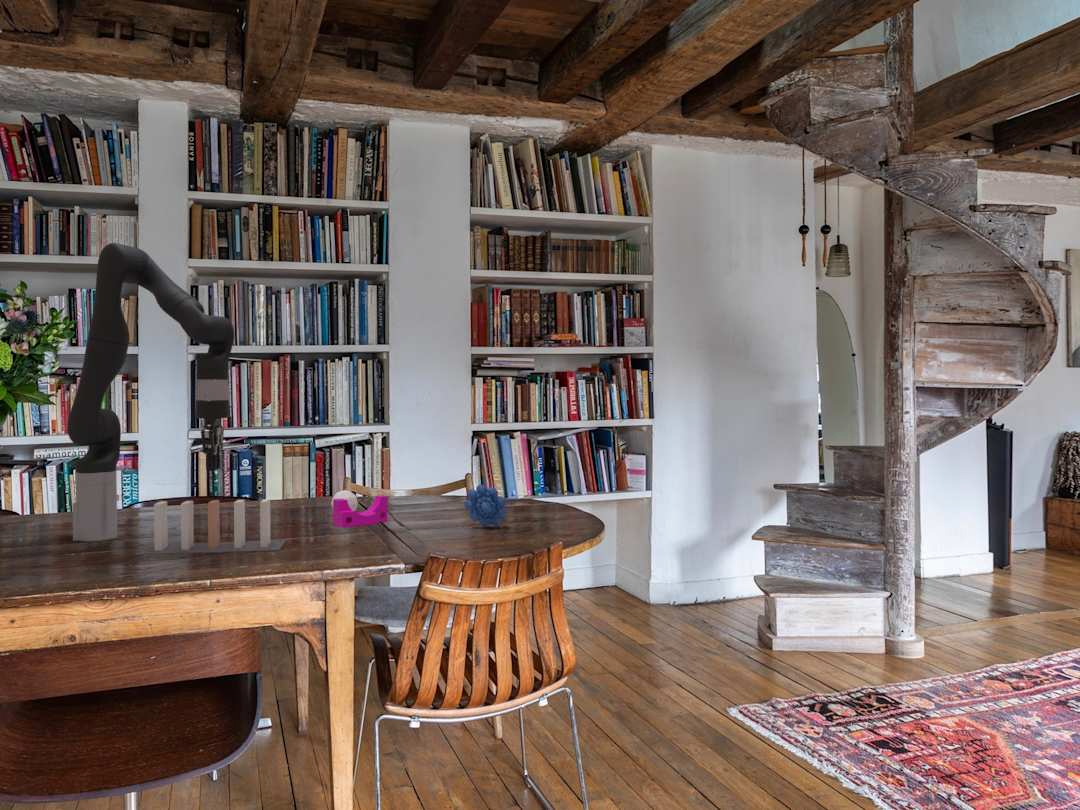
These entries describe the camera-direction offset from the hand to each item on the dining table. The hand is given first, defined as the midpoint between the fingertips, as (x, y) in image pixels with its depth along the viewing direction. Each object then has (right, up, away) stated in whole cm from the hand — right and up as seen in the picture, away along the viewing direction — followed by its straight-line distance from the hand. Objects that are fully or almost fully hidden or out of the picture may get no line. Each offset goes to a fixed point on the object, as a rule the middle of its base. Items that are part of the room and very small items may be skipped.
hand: (213, 469), depth 198 cm
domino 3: (0, -19, +1) cm, 19 cm away
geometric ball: (+20, -18, +50) cm, 56 cm away
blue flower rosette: (+64, -19, +30) cm, 73 cm away
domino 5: (+12, -19, +3) cm, 22 cm away
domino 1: (-12, -19, -2) cm, 22 cm away
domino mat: (0, -19, 0) cm, 19 cm away
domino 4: (+6, -19, +1) cm, 20 cm away
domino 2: (-6, -19, -1) cm, 20 cm away
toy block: (+28, -19, +36) cm, 50 cm away
